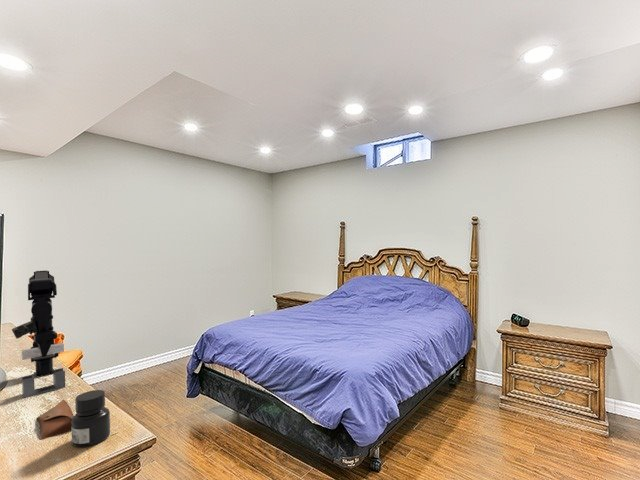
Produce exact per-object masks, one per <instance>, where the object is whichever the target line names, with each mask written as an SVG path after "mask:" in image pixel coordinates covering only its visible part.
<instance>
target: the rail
mask: <svg viewBox="0 0 640 480" xmlns="http://www.w3.org/2000/svg"><path fill="white" fill-rule="evenodd" d="M55 353H58V354H59V353H65V344H64V342H61V343H60V342H59V343H56V344H54V345H51V347H50V349H49V351H48V353H47V355H50V354H55ZM40 356H42V355H41V351H40V347H37V348H32V349H31V348H27V349H22V350H21V360H23V361H24V360H28V359H30V360H31V358H35V357H40Z"/></svg>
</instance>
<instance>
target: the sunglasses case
mask: <svg viewBox="0 0 640 480" xmlns="http://www.w3.org/2000/svg"><path fill="white" fill-rule="evenodd" d="M74 416H75V414H74V413H73V410H72V409H71V406H70V405H69V404H68V402H67V401H66V400H65V399H62V400H60V401H59V402H58V403H57V404H55V406H53V407H51V408H50V409H47V410H46V411H45V412H44V413H41V414H40V415H39V416H37V417H36V420H37V421H38V423H39V429H40V440H46V439H48V438H51V437H55V436H58V435H61V434H64V433H68V432H71V420H72V418H73V417H74Z"/></svg>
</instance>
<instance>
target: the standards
mask: <svg viewBox="0 0 640 480" xmlns="http://www.w3.org/2000/svg"><path fill="white" fill-rule="evenodd" d="M52 380H53V384H51V385H47V386H43V387H39V388H35V387H36V386H35V377H34V374H30V375H25V376H22V377H21V381H22V382H21V383H22V384H21V387H22V397H23V398H24V399H25V398H29V397H33V396H37V395H40V394H45V393H48V392H52V391H56V390H60V389H65V388H66V371H65V370H64V368H63V367H61V368H56V369H54V370H53V373H52Z"/></svg>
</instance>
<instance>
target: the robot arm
mask: <svg viewBox="0 0 640 480" xmlns="http://www.w3.org/2000/svg"><path fill="white" fill-rule="evenodd" d="M28 282H29V283H28V284H27V301H32V302H31V309H30V312H31V314H32V315H31V317H30V321H28V322H25V323H23V324H20V325H18V326H16V327H13V328H12V329H11V331H12V333H13V335H14V337H15V338H16V339H21V338H22V337H23V336H25V335H28V334H29V335H30V337H31V339H33V340H32V341H33V342H32V346H31V347H30V349H32V348H37V347H40V351H41V355H42V356H40V357H35V358H30V363H34V362H35V363H34V365H35V371H34V372H33V376H34V378H40V377H43V376H48V375H53V370H55V369H54V359H56V358H57V357H59V353H55V354H50V355H47V353H48V351H49V349H50V347H51V345H54V344H57V343H56V342H55V340H57V339H58V333H57V331H55V330H54V326H53V319H54V315H53V304H52V303H53V302H52V299H55V298H56V296H57V294H58V293H57V292H58V289H57V284H56V282H55V277H54V276H53V275H51V274H50V270H36V271H33V275H32V276H30V277H29V278H28ZM31 335H32V336H31Z"/></svg>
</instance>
